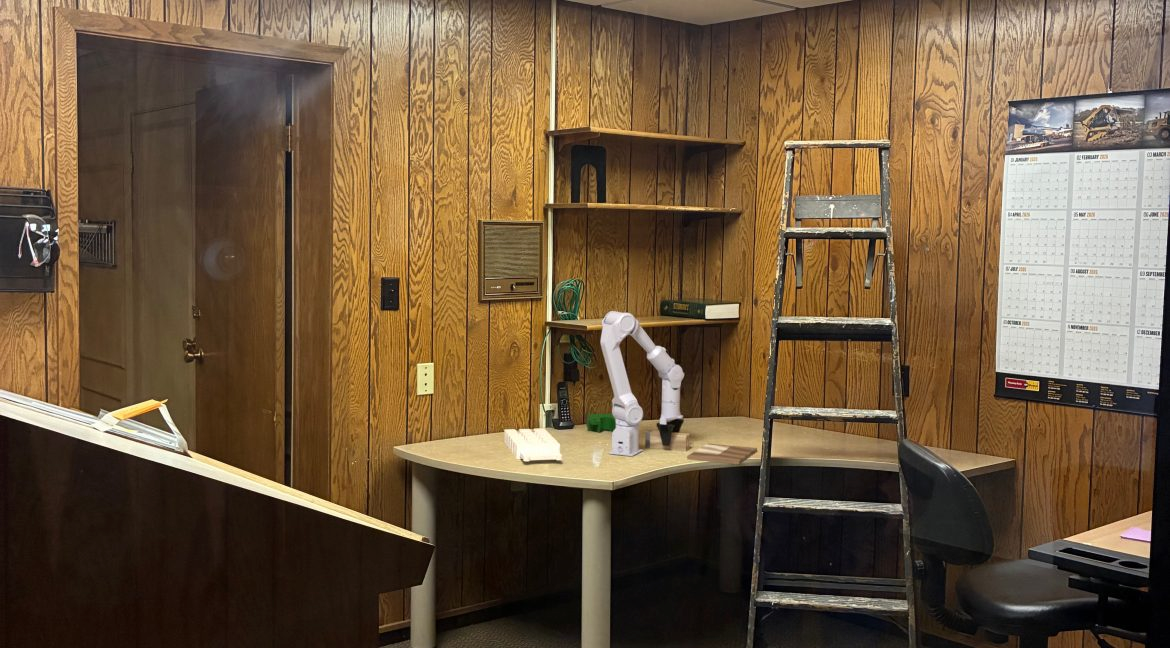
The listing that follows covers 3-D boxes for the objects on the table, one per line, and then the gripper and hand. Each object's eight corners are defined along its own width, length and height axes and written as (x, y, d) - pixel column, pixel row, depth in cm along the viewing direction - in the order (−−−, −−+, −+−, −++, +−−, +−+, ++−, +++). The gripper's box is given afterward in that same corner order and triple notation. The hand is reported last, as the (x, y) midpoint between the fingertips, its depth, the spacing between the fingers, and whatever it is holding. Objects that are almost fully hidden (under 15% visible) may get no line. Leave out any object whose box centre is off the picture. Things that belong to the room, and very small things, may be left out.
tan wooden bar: (685, 451, 321) (686, 435, 321) (645, 447, 326) (645, 432, 326) (689, 449, 325) (690, 433, 324) (649, 445, 330) (649, 430, 330)
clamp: (595, 445, 352) (586, 423, 348) (590, 437, 357) (582, 416, 354) (626, 431, 353) (619, 409, 350) (622, 424, 359) (614, 402, 355)
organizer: (544, 428, 333) (565, 449, 299) (544, 443, 333) (565, 465, 299) (504, 429, 330) (521, 451, 296) (504, 444, 331) (520, 467, 296)
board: (738, 464, 303) (738, 460, 303) (687, 459, 309) (687, 455, 309) (756, 451, 323) (757, 447, 323) (708, 446, 330) (708, 443, 329)
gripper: (675, 405, 316) (674, 448, 317) (689, 399, 329) (688, 440, 330) (653, 403, 319) (653, 446, 320) (669, 397, 332) (668, 438, 333)
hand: (669, 443), depth 325 cm, fingers open, 7 cm apart
